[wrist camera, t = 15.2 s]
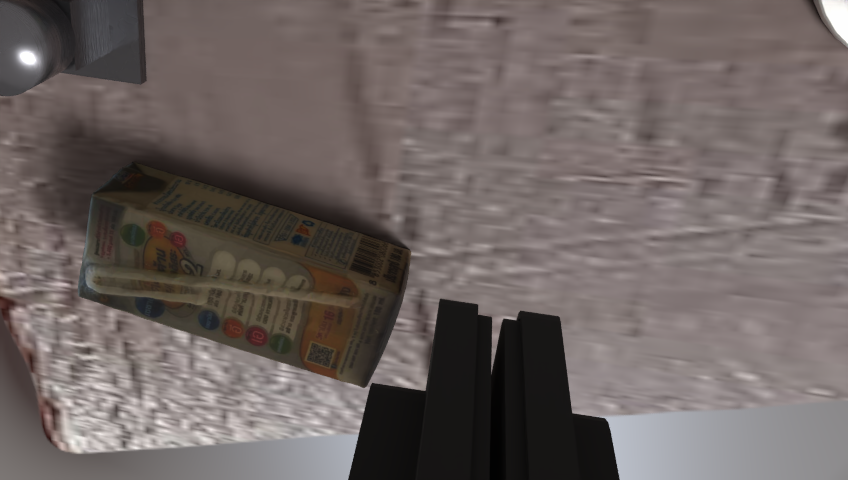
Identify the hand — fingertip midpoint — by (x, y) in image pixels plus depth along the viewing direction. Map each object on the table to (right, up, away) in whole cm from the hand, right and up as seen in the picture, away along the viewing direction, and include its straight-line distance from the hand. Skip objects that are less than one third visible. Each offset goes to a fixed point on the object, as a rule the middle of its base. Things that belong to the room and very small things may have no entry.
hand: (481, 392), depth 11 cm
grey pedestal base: (-20, +15, +34) cm, 42 cm away
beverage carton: (-12, +2, +40) cm, 42 cm away
